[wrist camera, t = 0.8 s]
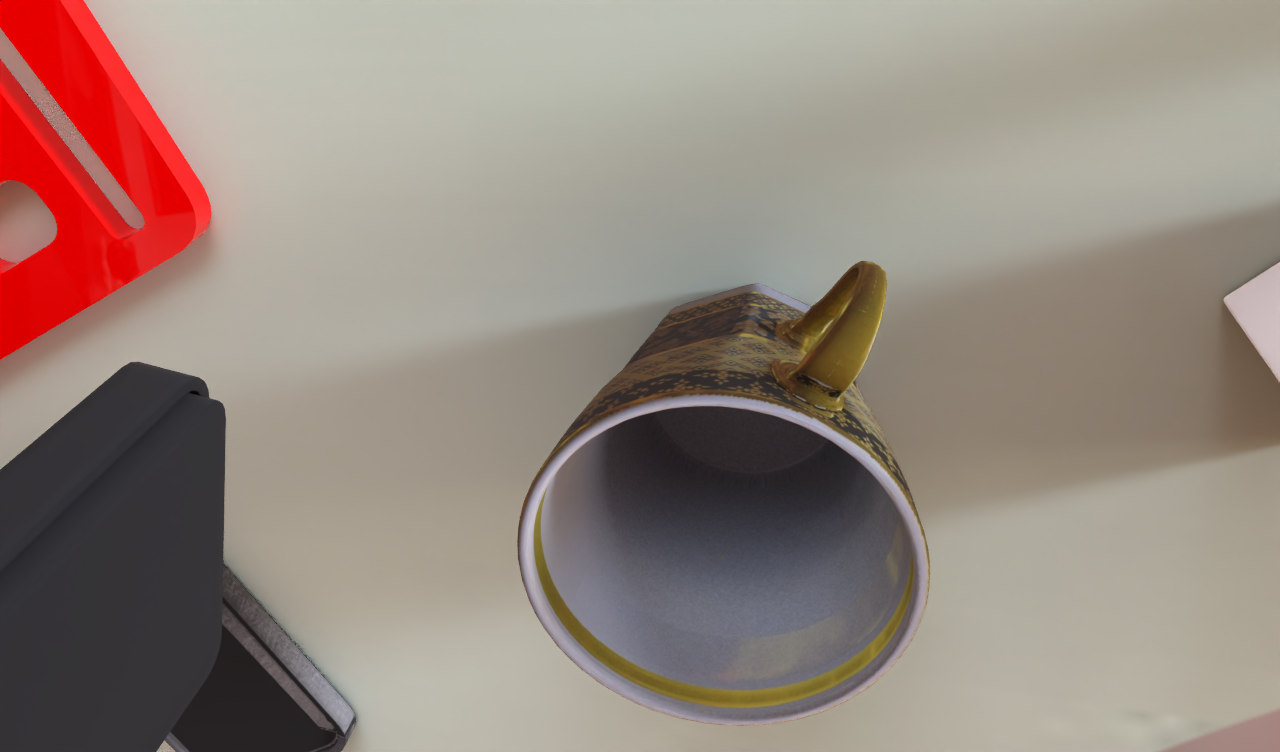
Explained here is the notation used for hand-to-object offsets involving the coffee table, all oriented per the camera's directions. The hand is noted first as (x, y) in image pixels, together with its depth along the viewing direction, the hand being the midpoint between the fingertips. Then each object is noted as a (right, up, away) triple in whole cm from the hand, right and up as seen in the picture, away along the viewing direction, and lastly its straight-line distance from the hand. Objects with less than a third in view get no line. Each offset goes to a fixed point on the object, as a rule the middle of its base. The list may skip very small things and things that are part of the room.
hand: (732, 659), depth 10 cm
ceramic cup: (+3, +3, +26) cm, 26 cm away
